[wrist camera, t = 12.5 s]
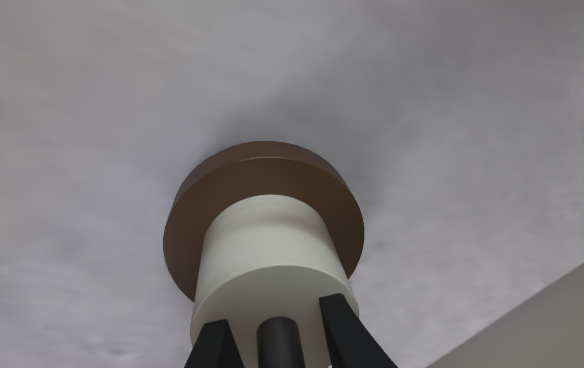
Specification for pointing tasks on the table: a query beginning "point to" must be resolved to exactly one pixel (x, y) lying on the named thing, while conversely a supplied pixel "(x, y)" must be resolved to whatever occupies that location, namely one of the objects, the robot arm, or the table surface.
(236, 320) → the joystick
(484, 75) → the table surface
